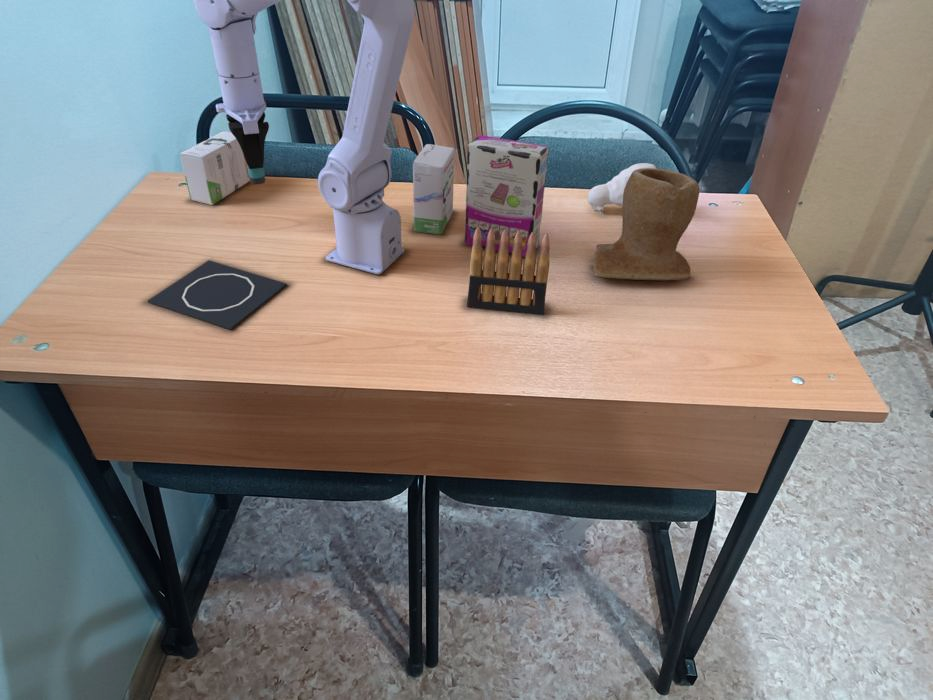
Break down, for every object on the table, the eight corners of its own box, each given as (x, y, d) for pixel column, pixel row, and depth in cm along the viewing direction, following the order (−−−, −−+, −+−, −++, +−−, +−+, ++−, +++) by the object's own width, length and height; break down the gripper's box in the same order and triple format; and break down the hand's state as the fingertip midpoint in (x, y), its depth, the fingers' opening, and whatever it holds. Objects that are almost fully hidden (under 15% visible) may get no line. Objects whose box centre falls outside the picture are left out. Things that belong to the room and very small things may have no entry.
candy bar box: (539, 245, 104) (551, 145, 94) (529, 260, 100) (541, 157, 90) (474, 231, 107) (479, 132, 97) (463, 244, 103) (466, 143, 93)
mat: (287, 285, 92) (286, 283, 92) (230, 330, 84) (230, 328, 84) (209, 261, 97) (208, 259, 96) (147, 302, 88) (147, 300, 88)
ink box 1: (189, 200, 112) (231, 176, 121) (214, 205, 111) (254, 180, 120) (178, 151, 107) (222, 129, 116) (203, 156, 105) (246, 134, 114)
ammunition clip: (466, 307, 90) (469, 229, 82) (468, 299, 91) (471, 222, 84) (544, 315, 89) (554, 237, 81) (544, 307, 90) (554, 230, 83)
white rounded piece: (665, 171, 107) (593, 176, 107) (659, 218, 112) (590, 222, 112) (656, 156, 112) (586, 161, 112) (650, 202, 117) (583, 206, 117)
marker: (268, 180, 103) (259, 123, 98) (259, 185, 102) (249, 128, 96) (256, 177, 104) (246, 121, 98) (246, 182, 102) (236, 126, 97)
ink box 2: (442, 235, 105) (443, 166, 98) (412, 231, 106) (411, 162, 99) (453, 212, 112) (455, 145, 105) (426, 209, 113) (425, 142, 105)
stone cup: (675, 250, 104) (698, 160, 95) (695, 290, 95) (723, 195, 86) (581, 247, 104) (595, 156, 95) (592, 287, 95) (609, 191, 85)
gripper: (206, 60, 97) (224, 149, 105) (212, 89, 86) (232, 185, 95) (255, 57, 99) (269, 145, 107) (267, 85, 88) (281, 180, 97)
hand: (255, 163), depth 101 cm, fingers closed on marker, 2 cm apart
